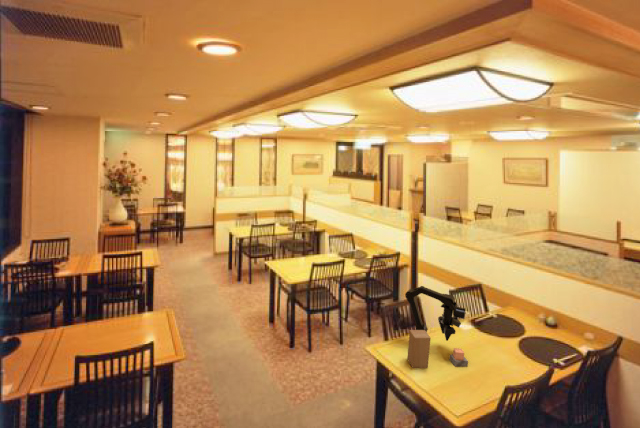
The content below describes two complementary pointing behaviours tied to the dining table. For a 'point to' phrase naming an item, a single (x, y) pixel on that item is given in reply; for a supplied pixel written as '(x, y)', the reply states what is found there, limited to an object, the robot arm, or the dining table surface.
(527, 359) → the dining table surface
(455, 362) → the charcoal plinth
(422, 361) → the wooden block
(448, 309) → the robot arm
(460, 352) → the terracotta cube
